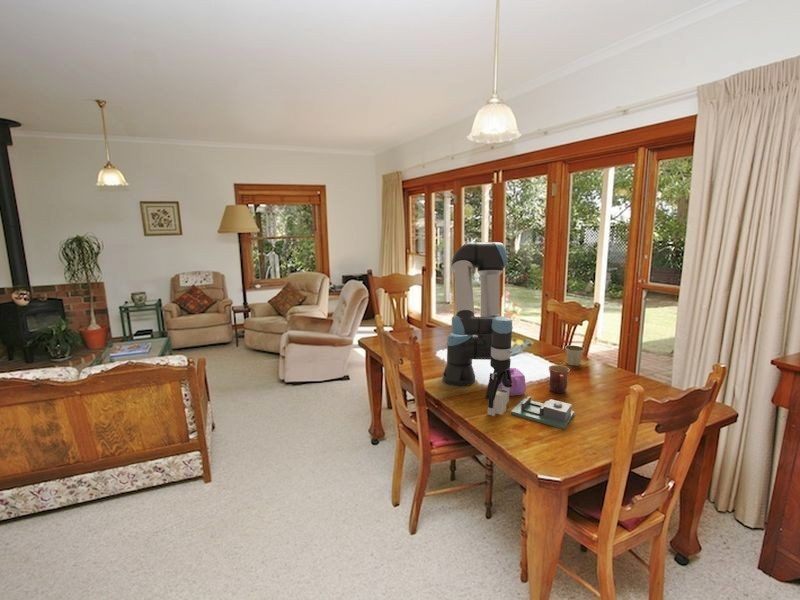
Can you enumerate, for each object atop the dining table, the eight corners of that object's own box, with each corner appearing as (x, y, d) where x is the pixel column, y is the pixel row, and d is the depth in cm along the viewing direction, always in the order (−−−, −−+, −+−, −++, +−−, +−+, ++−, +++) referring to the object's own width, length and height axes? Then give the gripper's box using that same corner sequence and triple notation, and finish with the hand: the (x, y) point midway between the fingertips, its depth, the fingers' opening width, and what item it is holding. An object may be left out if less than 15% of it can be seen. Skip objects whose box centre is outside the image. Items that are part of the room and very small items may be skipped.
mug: (545, 385, 187) (547, 364, 185) (566, 387, 185) (567, 365, 183) (549, 397, 175) (551, 374, 173) (571, 398, 174) (573, 375, 172)
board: (510, 414, 161) (511, 400, 160) (523, 401, 172) (524, 388, 171) (563, 429, 149) (565, 414, 148) (574, 414, 160) (575, 400, 159)
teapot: (491, 382, 191) (492, 362, 189) (513, 381, 192) (514, 360, 190) (506, 399, 174) (507, 376, 171) (530, 397, 175) (531, 375, 173)
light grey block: (490, 411, 163) (491, 392, 161) (495, 407, 167) (496, 388, 165) (501, 415, 160) (502, 395, 159) (506, 410, 164) (507, 391, 162)
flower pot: (566, 359, 220) (567, 344, 219) (585, 363, 215) (586, 347, 213) (561, 364, 213) (562, 348, 211) (580, 368, 208) (582, 352, 206)
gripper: (496, 368, 147) (494, 423, 151) (521, 350, 166) (519, 399, 171) (477, 364, 151) (475, 417, 156) (504, 347, 171) (502, 394, 175)
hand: (498, 408), depth 163 cm, fingers open, 13 cm apart
